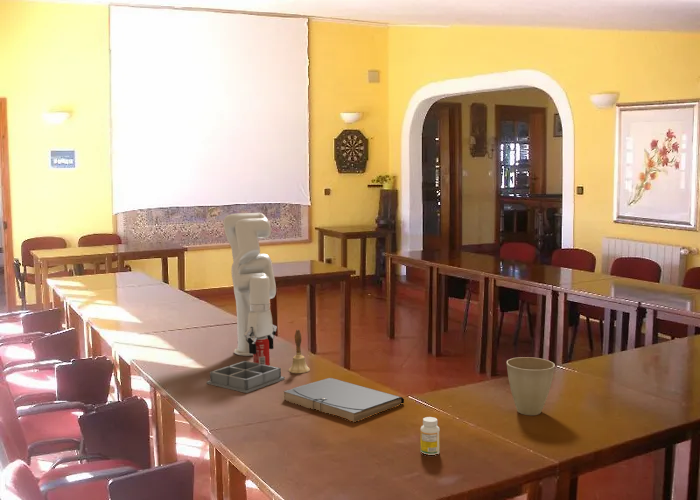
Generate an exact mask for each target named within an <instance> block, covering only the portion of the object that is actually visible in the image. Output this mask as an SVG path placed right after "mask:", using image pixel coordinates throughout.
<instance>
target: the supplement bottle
mask: <svg viewBox="0 0 700 500" xmlns="http://www.w3.org/2000/svg"><path fill="white" fill-rule="evenodd" d="M440 431H441V429H440V426H438V419H437V418H436V417H432V416H426V417H423V418H422V425H421V426H420V438H419V441H420V444H419V445H420V453H421V452H422V453H424V454H428V455H435V454H438V455H439V454H440V450H441V444H440V443H441V442H440V441H441V436H440V435H441V432H440ZM422 453H421V454H422ZM435 456H436V455H435Z"/></svg>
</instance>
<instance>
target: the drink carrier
mask: <svg viewBox="0 0 700 500" xmlns="http://www.w3.org/2000/svg"><path fill="white" fill-rule="evenodd" d="M281 371H282V368H281V367H277V366H272V365H269V366H268V365H263V364H258V363H254V362H253V361H249V360H248V361H247V360H243V361H240V362H236V363H234V364H231V365H228V366H223V367H222V368H221V367H220V368H217V369H215V370H212V371H210V372H209V380H208V381H206V384H207V385H212V386H215V387H220V388H223V389H229V390H231V391H237V392H241V393H245V394H248V393H252V392H254V391H256V390H258V389H261V388H264V387H268V386H271V385H272V384H275V383H278V382H281V381H284V380H285V377H284V376H282V372H281Z"/></svg>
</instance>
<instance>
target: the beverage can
mask: <svg viewBox="0 0 700 500" xmlns="http://www.w3.org/2000/svg"><path fill="white" fill-rule="evenodd" d="M255 344H256V354H253V355H252V357H253V358H252V360H253V361H252V362H254V363H258V364H263V365H268V366H271V365H270V364H271V363H270V360H271V359H270V349H269V340H268V339H267V336H265V337H261V338H257V340H256V342H255Z"/></svg>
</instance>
